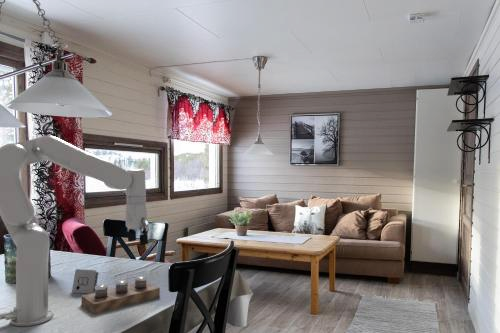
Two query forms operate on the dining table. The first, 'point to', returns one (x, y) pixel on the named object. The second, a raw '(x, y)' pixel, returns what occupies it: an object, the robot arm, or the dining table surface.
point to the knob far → (140, 282)
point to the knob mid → (121, 286)
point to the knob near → (101, 291)
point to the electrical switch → (85, 281)
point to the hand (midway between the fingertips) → (137, 242)
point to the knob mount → (119, 298)
